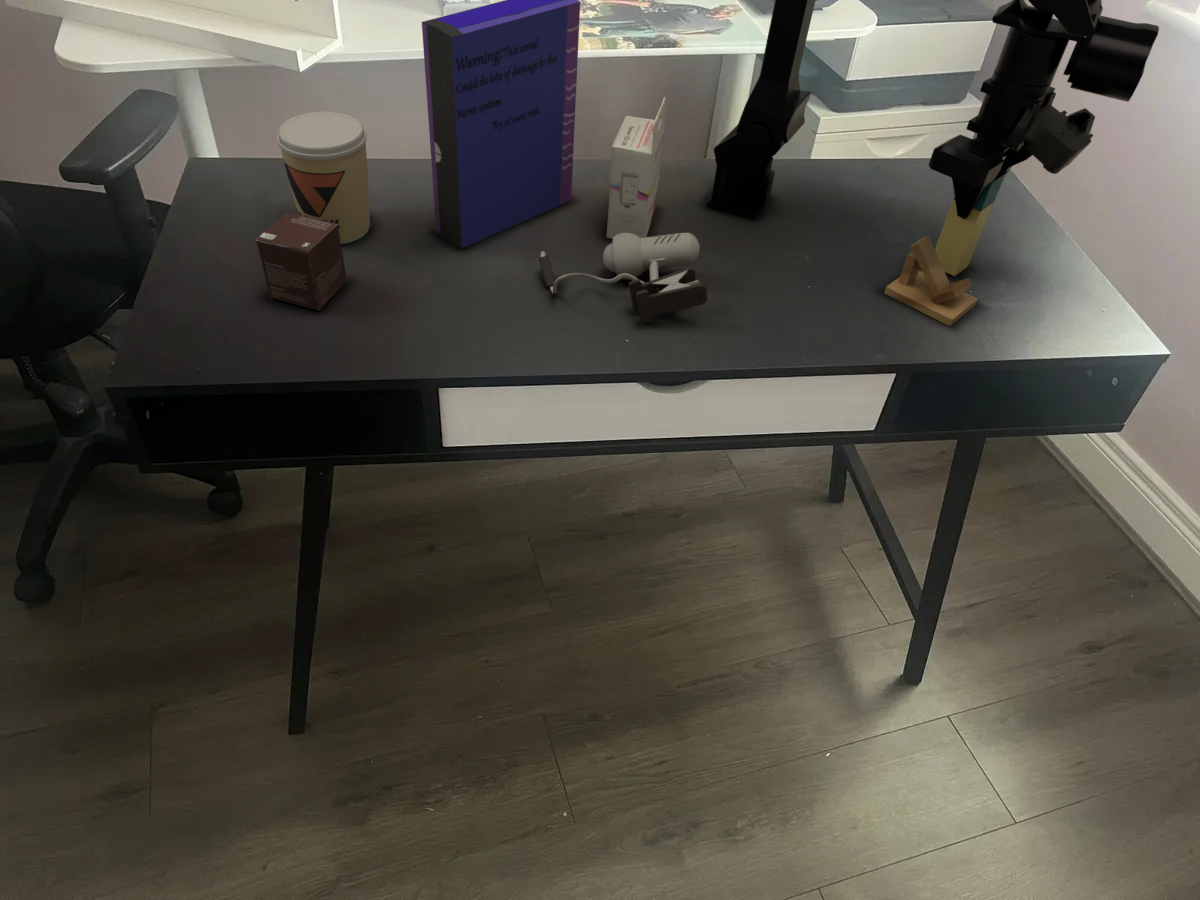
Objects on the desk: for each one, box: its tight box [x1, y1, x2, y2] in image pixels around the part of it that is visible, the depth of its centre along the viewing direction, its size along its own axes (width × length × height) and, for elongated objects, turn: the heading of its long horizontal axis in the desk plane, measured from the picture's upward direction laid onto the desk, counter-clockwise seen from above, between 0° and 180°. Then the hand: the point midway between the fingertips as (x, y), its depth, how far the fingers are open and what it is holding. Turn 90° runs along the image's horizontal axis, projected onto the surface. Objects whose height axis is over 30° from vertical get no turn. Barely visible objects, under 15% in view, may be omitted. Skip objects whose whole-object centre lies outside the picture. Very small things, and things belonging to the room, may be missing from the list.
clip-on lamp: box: [538, 232, 708, 325], centre depth 99 cm, size 12×6×18 cm
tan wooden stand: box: [884, 235, 978, 327], centre depth 101 cm, size 8×6×6 cm
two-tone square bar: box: [934, 175, 1006, 277], centre depth 104 cm, size 11×3×11 cm
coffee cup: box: [276, 111, 371, 245], centre depth 102 cm, size 9×9×12 cm
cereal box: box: [421, 0, 581, 250], centre depth 102 cm, size 17×5×24 cm, turn 135°
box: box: [255, 211, 348, 311], centre depth 95 cm, size 6×6×7 cm
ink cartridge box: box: [605, 96, 667, 240], centre depth 106 cm, size 9×5×15 cm, turn 168°
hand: (969, 212), depth 104 cm, fingers closed on two-tone square bar, 3 cm apart
